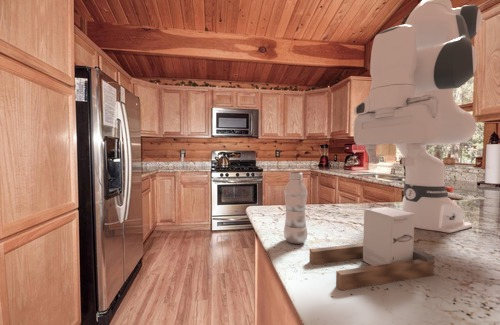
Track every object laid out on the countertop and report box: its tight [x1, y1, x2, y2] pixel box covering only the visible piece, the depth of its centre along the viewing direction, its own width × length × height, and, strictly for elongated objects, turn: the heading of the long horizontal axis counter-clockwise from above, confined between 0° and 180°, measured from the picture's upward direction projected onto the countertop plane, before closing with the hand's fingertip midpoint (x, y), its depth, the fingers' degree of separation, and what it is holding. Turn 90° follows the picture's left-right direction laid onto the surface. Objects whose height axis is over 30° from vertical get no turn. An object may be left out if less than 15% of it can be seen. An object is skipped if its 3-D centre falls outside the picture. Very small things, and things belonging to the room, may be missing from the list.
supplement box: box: [362, 206, 415, 266], centre depth 55 cm, size 7×7×13 cm
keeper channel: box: [309, 242, 436, 291], centre depth 53 cm, size 22×12×4 cm, turn 104°
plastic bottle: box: [283, 171, 308, 245], centre depth 68 cm, size 6×7×20 cm
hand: (389, 164), depth 54 cm, fingers open, 8 cm apart
